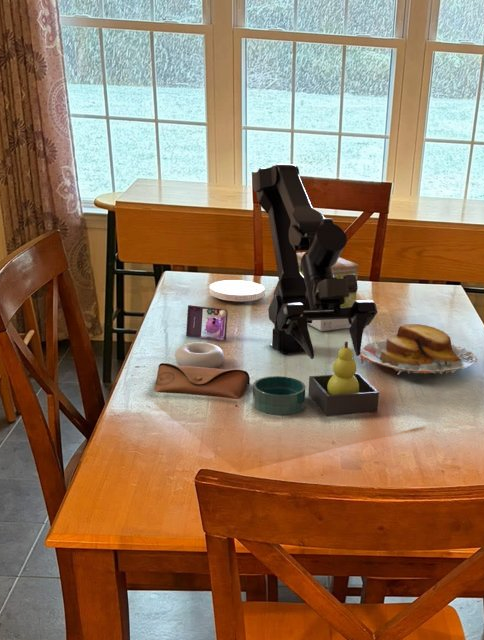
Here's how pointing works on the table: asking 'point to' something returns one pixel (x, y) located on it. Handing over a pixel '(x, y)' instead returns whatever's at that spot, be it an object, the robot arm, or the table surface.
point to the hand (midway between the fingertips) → (335, 356)
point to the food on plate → (418, 351)
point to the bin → (343, 397)
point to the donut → (199, 355)
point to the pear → (343, 374)
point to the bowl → (279, 395)
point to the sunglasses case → (201, 381)
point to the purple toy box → (212, 324)
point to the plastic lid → (237, 290)
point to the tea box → (340, 271)
